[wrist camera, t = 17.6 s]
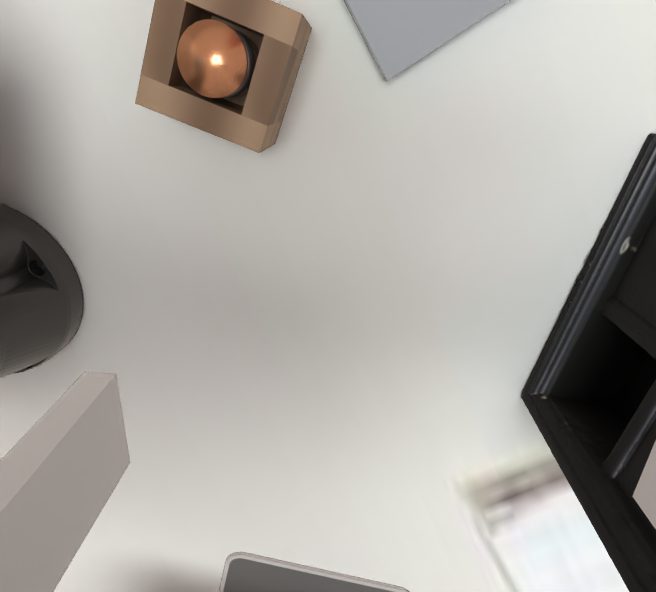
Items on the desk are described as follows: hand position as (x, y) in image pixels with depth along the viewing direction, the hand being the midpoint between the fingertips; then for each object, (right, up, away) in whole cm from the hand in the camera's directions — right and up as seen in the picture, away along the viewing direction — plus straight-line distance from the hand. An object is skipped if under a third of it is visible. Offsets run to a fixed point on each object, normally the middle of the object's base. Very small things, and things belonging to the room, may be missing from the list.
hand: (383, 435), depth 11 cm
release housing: (-8, +20, +21) cm, 30 cm away
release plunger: (-8, +19, +20) cm, 28 cm away
